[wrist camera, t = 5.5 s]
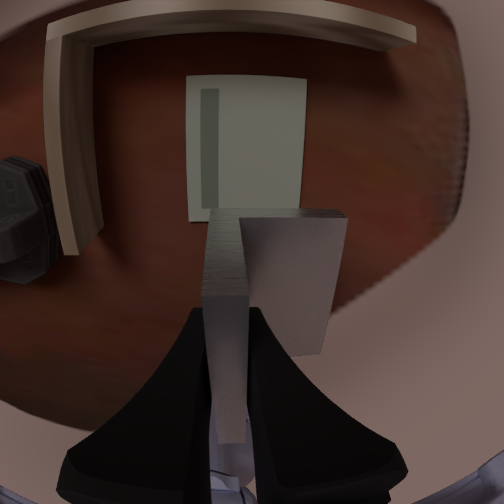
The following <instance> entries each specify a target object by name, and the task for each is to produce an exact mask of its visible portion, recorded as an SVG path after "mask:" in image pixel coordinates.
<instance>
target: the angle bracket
mask: <svg viewBox="0 0 504 504" xmlns="http://www.w3.org/2000/svg"><path fill="white" fill-rule="evenodd" d="M347 221H348V218H347V217H346V216H345V215H344V214H343V213H342V212H341V211H340V210H339V209H312V208H210V217H209V225H208V234H207V243H206V253H205V263H204V273H203V283H202V294H201V297H202V309H203V320H204V331H205V341H206V350H207V360H208V368H209V377H210V385H211V393H212V401H213V408H214V415H215V423H216V429H217V436H218V443H219V444H227V443H245V441H246V404H247V367H248V331H249V307H259V308H260V309H261V311H262V314H263V316H264V318H265V320H266V322H267V323H268V325H269V327H270V329H271V330H272V332H273V334H274V335H275V337H276V338H277V340H278V341H279V343H280V344H281V345H282V347H283V348H284V350H285V351H286V353H287V354H288V355H289V357H290V356H302V355H311V354H320V352H321V348H322V344H323V340H324V336H325V332H326V328H327V324H328V320H329V315H330V311H331V306H332V302H333V297H334V292H335V288H336V283H337V278H338V273H339V268H340V262H341V257H342V251H343V246H344V240H345V234H346V228H347Z"/></svg>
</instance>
